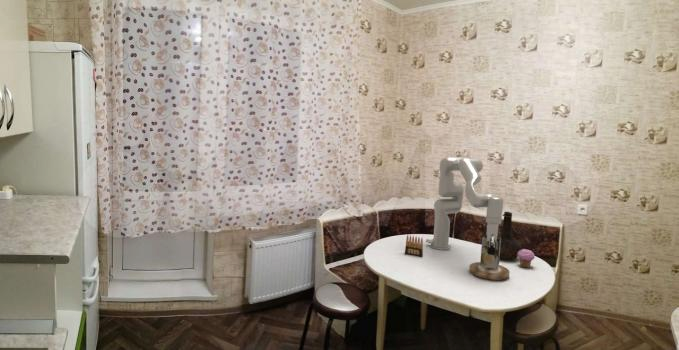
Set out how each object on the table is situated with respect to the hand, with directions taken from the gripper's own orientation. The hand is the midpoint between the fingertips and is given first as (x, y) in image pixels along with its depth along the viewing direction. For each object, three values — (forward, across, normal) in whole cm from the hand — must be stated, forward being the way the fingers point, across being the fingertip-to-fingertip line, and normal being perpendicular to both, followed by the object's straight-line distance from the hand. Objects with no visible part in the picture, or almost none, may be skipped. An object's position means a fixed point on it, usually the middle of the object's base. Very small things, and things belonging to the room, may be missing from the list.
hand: (490, 252), depth 213 cm
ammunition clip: (+13, -14, -42) cm, 46 cm away
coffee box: (+8, 0, 0) cm, 8 cm away
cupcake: (+12, -21, +20) cm, 31 cm away
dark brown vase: (+13, -33, +10) cm, 37 cm away
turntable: (+12, 0, 0) cm, 12 cm away
